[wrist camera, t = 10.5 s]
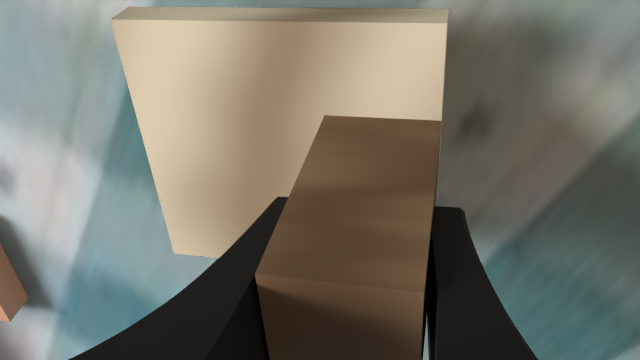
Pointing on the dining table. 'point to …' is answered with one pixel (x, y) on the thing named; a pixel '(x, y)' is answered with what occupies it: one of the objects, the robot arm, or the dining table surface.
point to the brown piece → (301, 158)
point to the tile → (9, 289)
